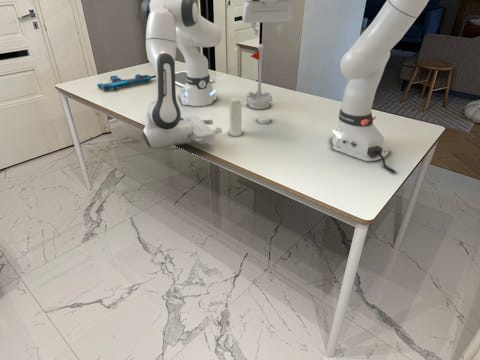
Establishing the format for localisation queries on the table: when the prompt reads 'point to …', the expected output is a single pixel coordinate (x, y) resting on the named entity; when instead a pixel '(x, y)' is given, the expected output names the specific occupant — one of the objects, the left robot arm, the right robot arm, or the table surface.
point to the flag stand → (259, 87)
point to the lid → (263, 119)
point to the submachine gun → (124, 82)
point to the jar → (235, 116)
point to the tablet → (182, 78)
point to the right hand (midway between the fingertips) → (267, 34)
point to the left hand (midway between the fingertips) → (216, 125)
